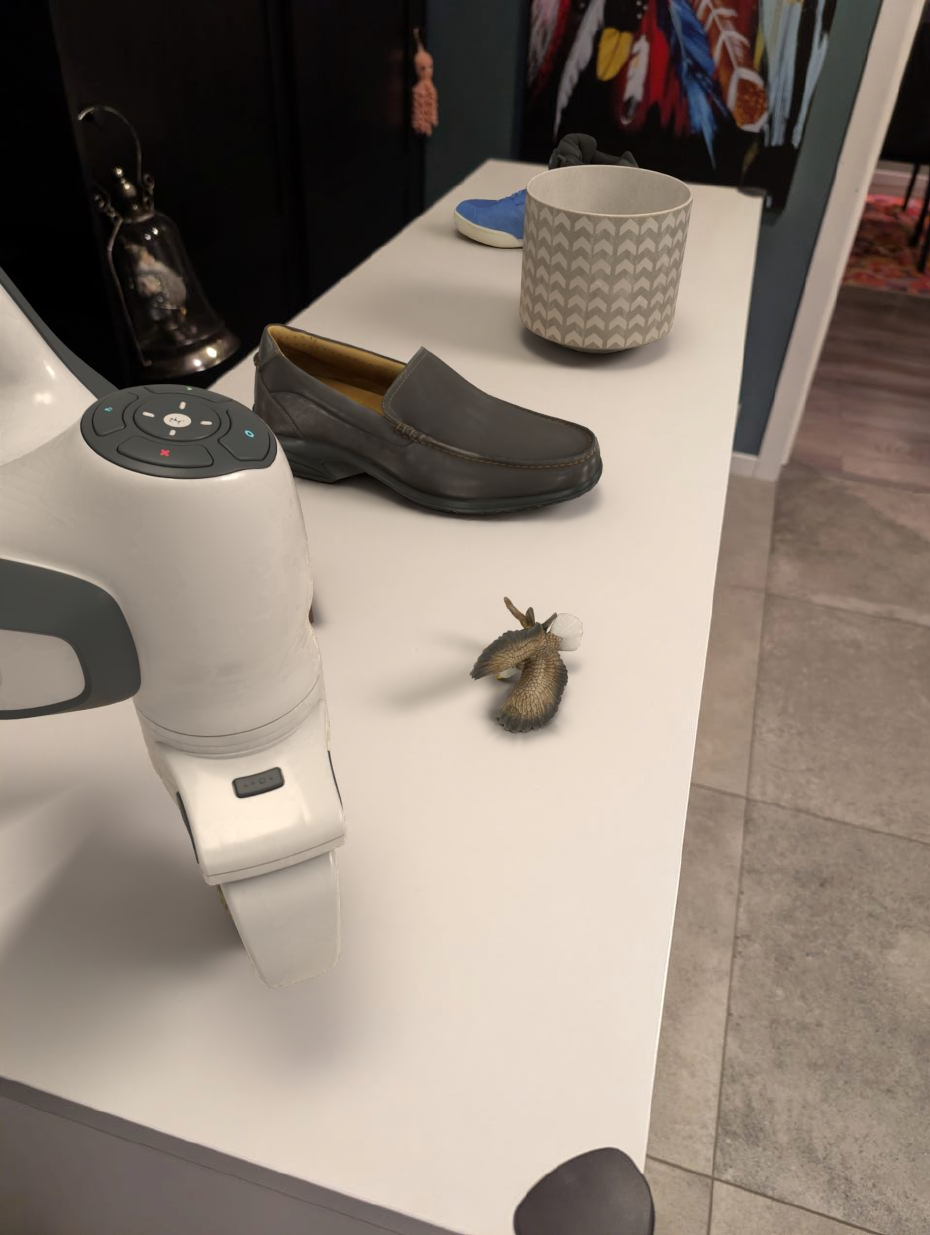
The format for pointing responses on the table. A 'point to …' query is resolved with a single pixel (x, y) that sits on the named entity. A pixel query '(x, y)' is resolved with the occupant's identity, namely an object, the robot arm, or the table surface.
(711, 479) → the table surface
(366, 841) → the table surface
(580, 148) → the sneaker
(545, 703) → the eagle figurine
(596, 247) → the planter
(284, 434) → the loafer
